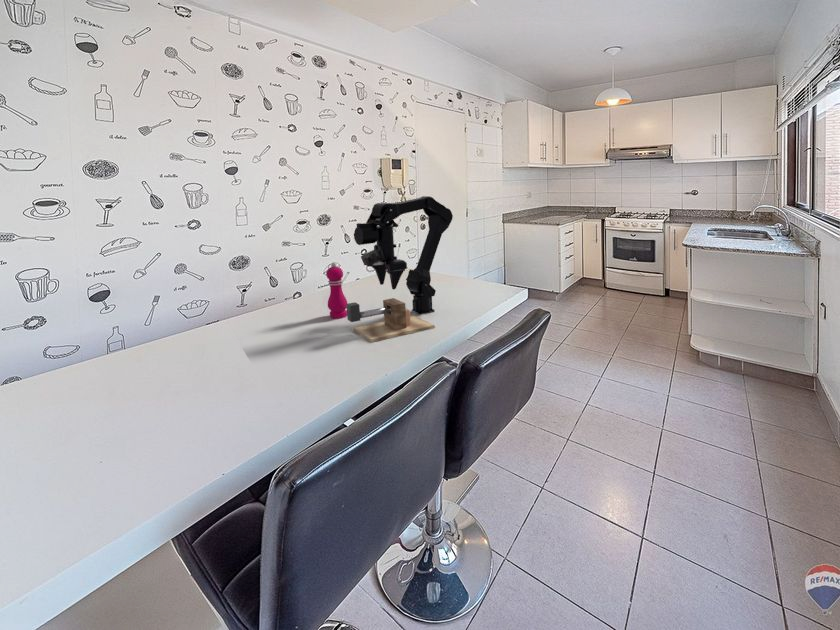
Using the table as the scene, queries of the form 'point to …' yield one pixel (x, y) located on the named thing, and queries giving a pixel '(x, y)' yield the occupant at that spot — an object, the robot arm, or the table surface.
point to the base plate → (384, 332)
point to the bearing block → (395, 314)
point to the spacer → (407, 317)
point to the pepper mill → (336, 292)
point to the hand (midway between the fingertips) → (387, 286)
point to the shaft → (355, 313)
